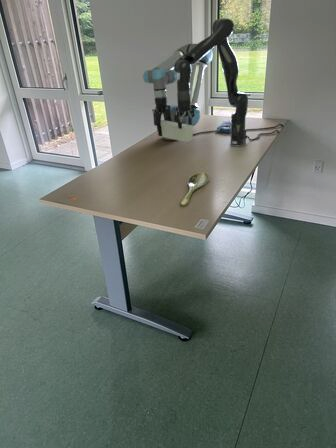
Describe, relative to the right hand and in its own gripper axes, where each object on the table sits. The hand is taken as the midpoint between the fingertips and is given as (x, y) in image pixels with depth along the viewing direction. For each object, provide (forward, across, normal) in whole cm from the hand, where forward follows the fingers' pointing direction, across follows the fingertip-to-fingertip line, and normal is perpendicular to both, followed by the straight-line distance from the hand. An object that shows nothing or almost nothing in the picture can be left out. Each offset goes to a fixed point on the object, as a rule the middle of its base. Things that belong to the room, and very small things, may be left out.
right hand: (185, 126), depth 199 cm
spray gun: (+20, +64, +16) cm, 68 cm away
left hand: (+8, 0, +20) cm, 21 cm away
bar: (+8, 0, +10) cm, 13 cm away
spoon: (+20, -31, -34) cm, 50 cm away
